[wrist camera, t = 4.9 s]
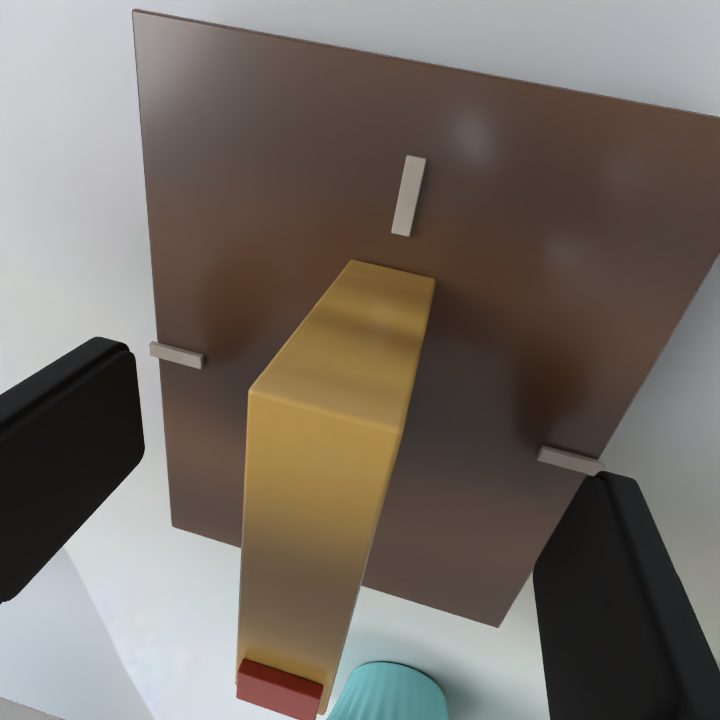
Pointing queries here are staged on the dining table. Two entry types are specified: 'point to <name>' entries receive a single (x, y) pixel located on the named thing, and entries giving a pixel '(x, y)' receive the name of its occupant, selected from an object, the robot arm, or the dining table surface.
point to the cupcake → (389, 695)
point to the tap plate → (421, 257)
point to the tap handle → (322, 480)
